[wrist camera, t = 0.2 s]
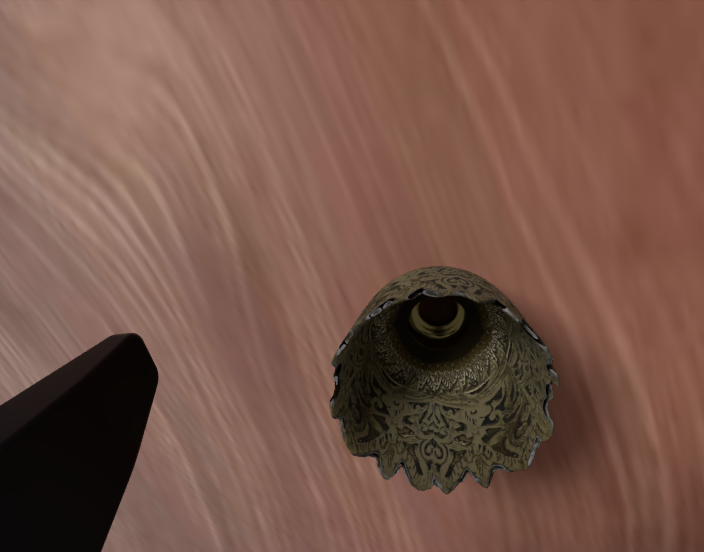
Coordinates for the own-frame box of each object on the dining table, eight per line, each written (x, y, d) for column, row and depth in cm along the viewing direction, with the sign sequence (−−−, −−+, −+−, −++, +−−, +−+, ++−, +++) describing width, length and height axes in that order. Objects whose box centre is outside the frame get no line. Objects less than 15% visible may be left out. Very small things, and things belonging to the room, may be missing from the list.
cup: (504, 389, 25) (536, 513, 18) (353, 368, 26) (322, 478, 19) (534, 240, 23) (585, 311, 15) (366, 222, 24) (335, 281, 16)
